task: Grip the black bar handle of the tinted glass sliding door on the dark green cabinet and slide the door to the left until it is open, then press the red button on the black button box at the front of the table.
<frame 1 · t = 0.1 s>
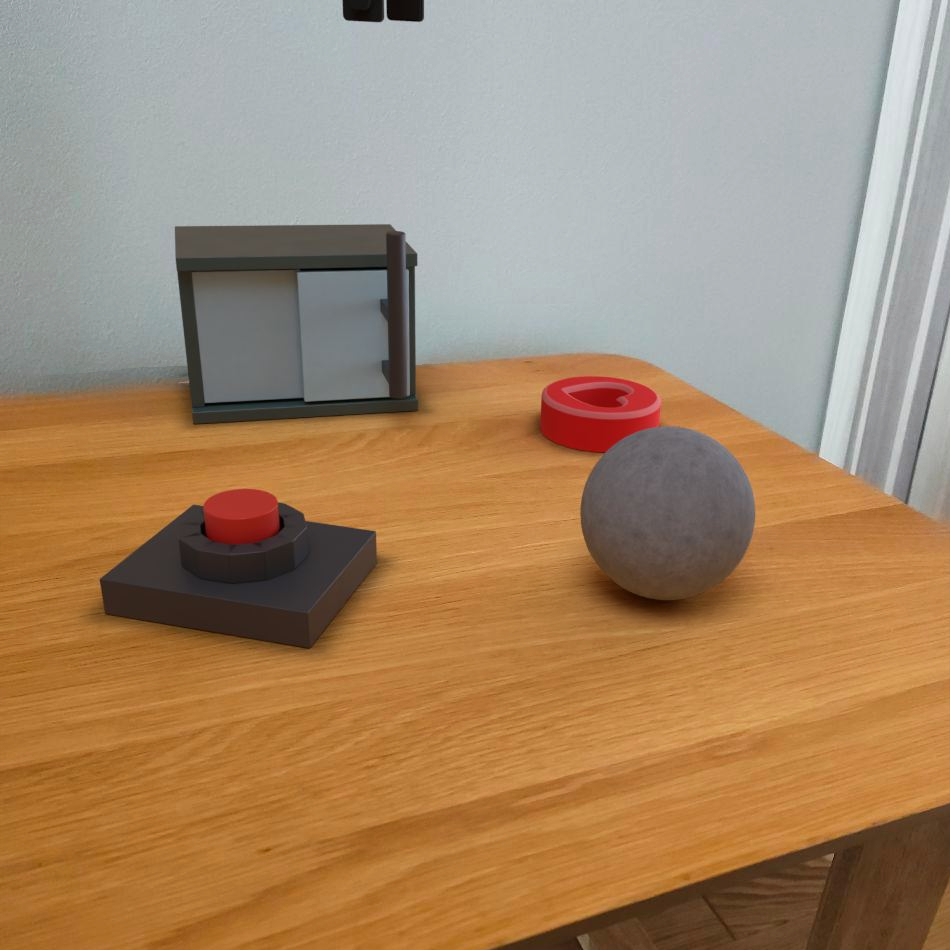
hand: (385, 21, 87), 29 cm above the table, tool pointing down, fingers open, 9 cm apart
cabinet: (301, 393, 91), on the table
button box: (248, 587, 61), on the table
decorative ball: (658, 591, 63), on the table
glass door: (359, 321, 81), point 8 cm above the table, slide at 0.0 cm
button: (242, 517, 59), point 4 cm above the table, slide at 0.1 cm
decorative ornament: (598, 432, 87), on the table
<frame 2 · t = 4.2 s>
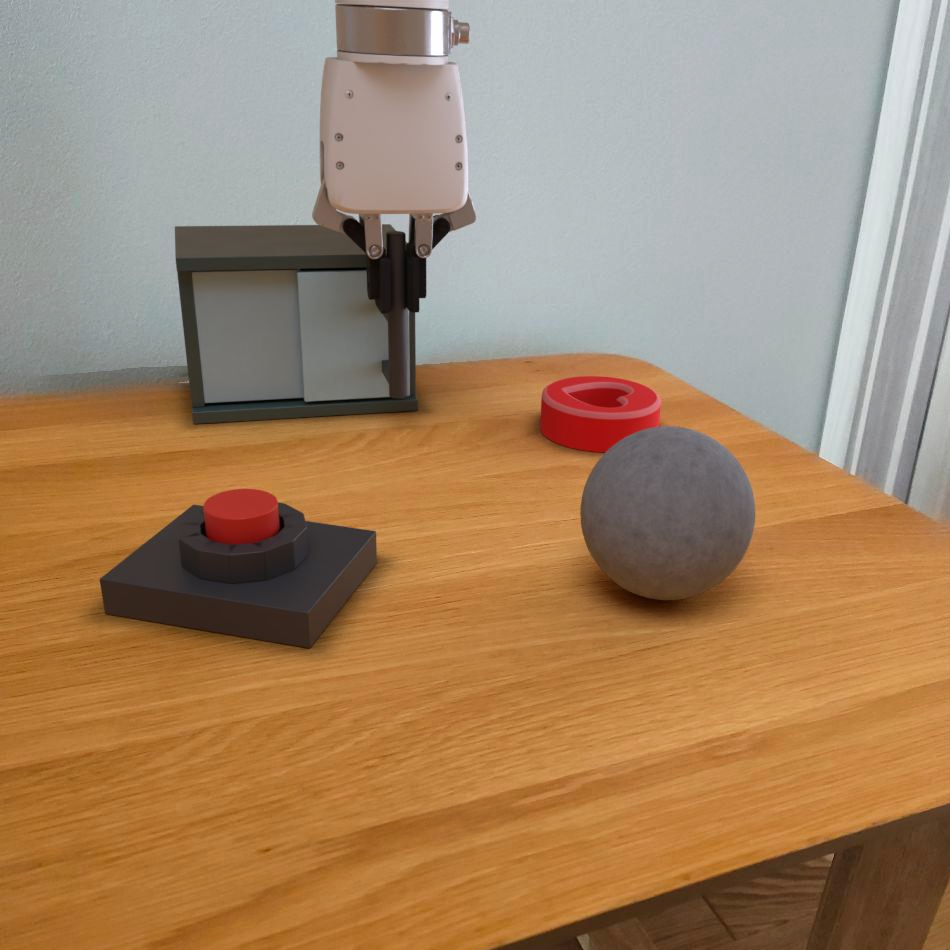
hand: (396, 307, 80), 10 cm above the table, tool pointing down, fingers closed
glass door: (359, 321, 81), point 8 cm above the table, slide at 0.0 cm, touching gripper
everything else where it was.
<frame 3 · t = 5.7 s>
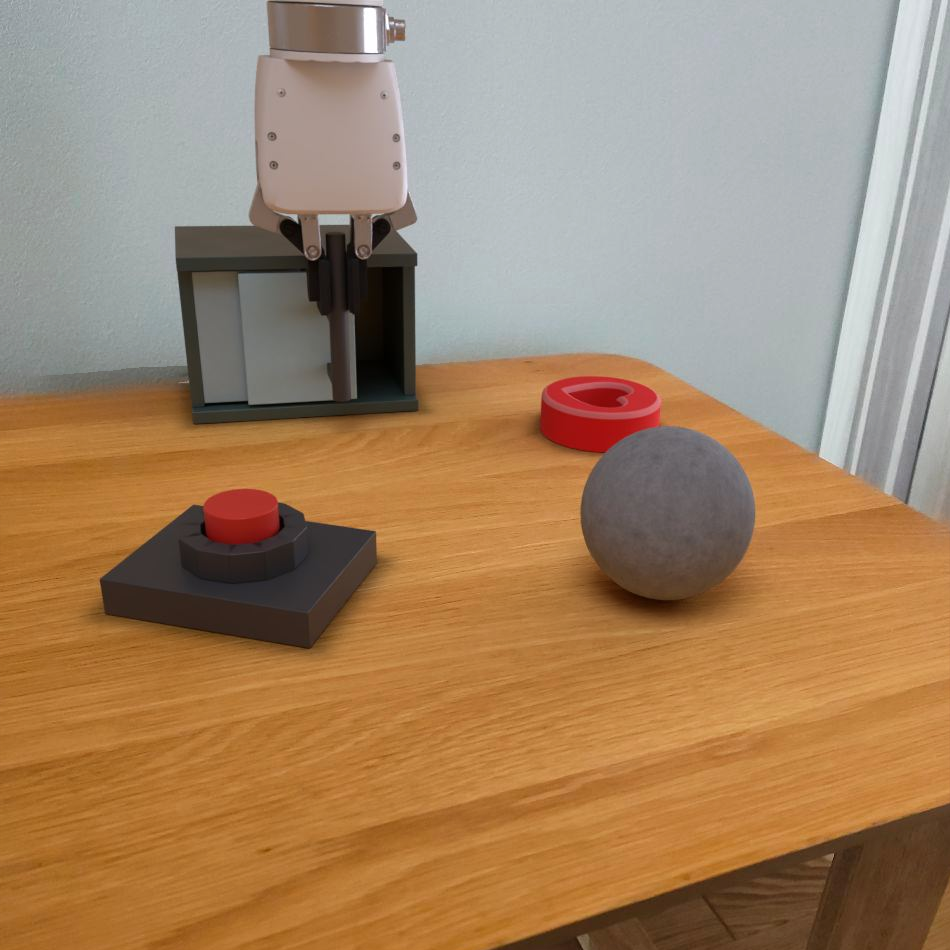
hand: (338, 308, 78), 10 cm above the table, tool pointing down, fingers closed
glass door: (301, 323, 80), point 8 cm above the table, slide at 4.4 cm, touching gripper
everything else where it was.
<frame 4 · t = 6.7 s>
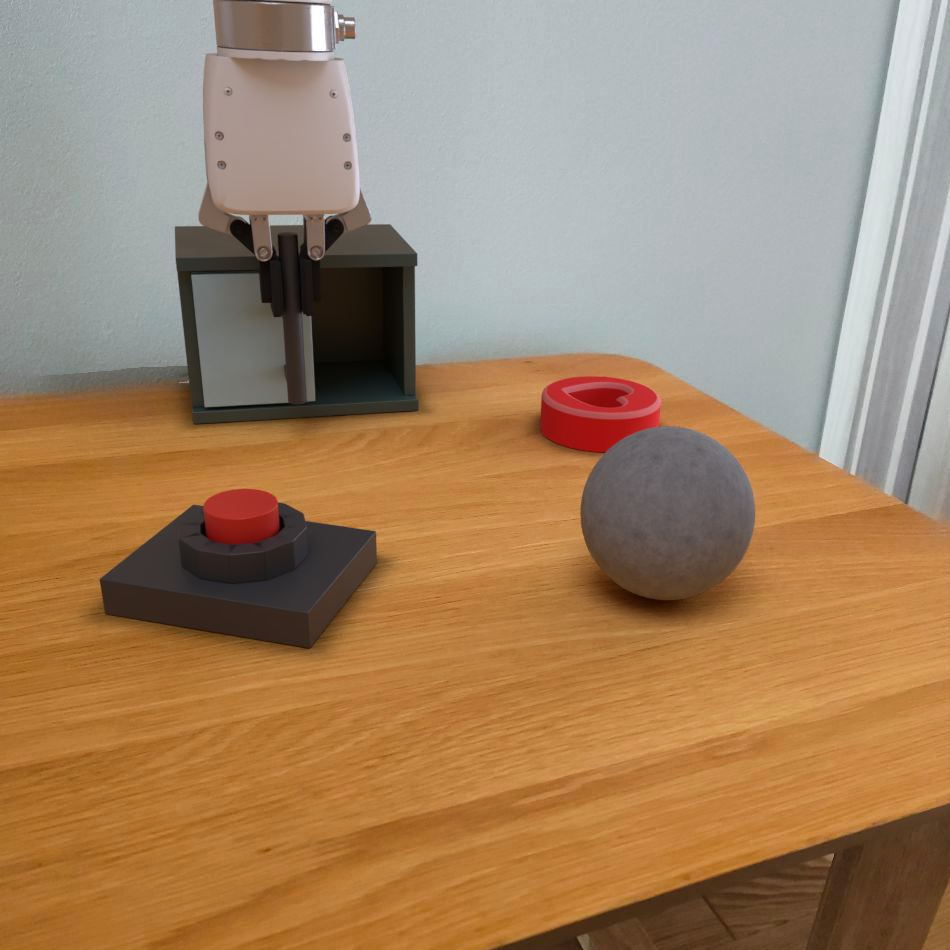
hand: (292, 310, 77), 10 cm above the table, tool pointing down, fingers closed
glass door: (256, 325, 79), point 8 cm above the table, slide at 7.7 cm, touching gripper
everything else where it was.
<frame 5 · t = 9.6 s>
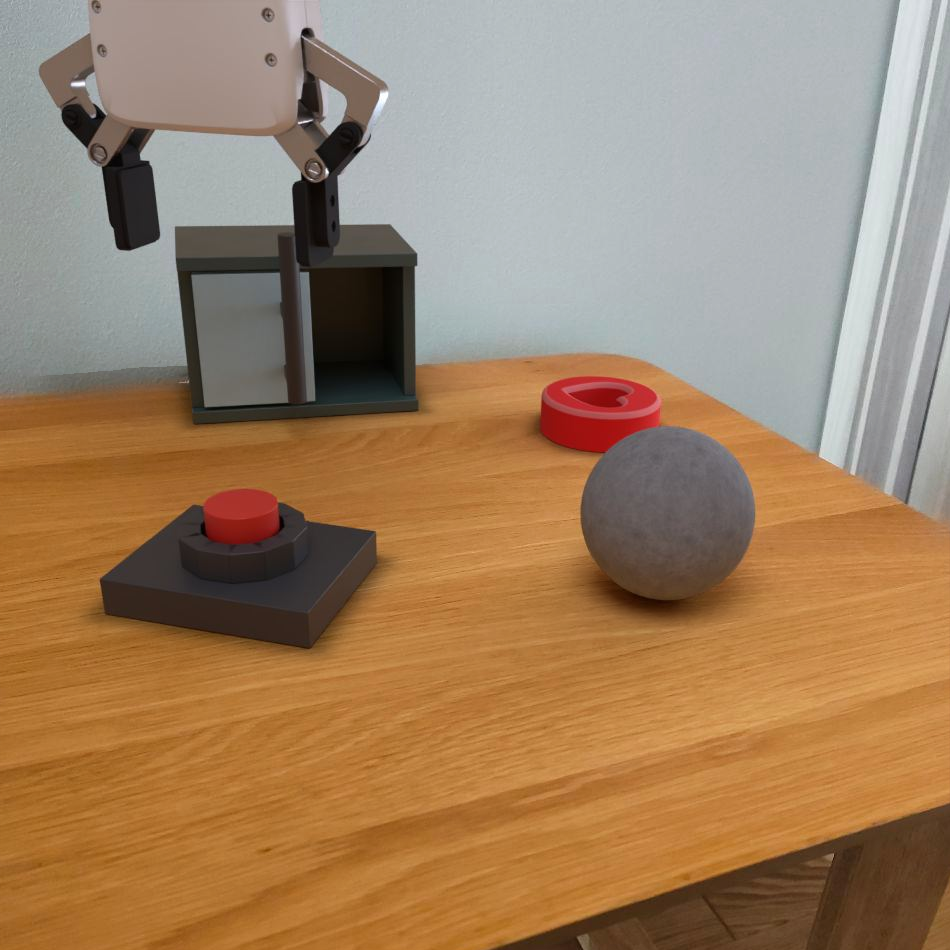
hand: (226, 253, 54), 19 cm above the table, tool pointing down, fingers open, 9 cm apart
glass door: (256, 325, 79), point 8 cm above the table, slide at 7.7 cm
everything else where it was.
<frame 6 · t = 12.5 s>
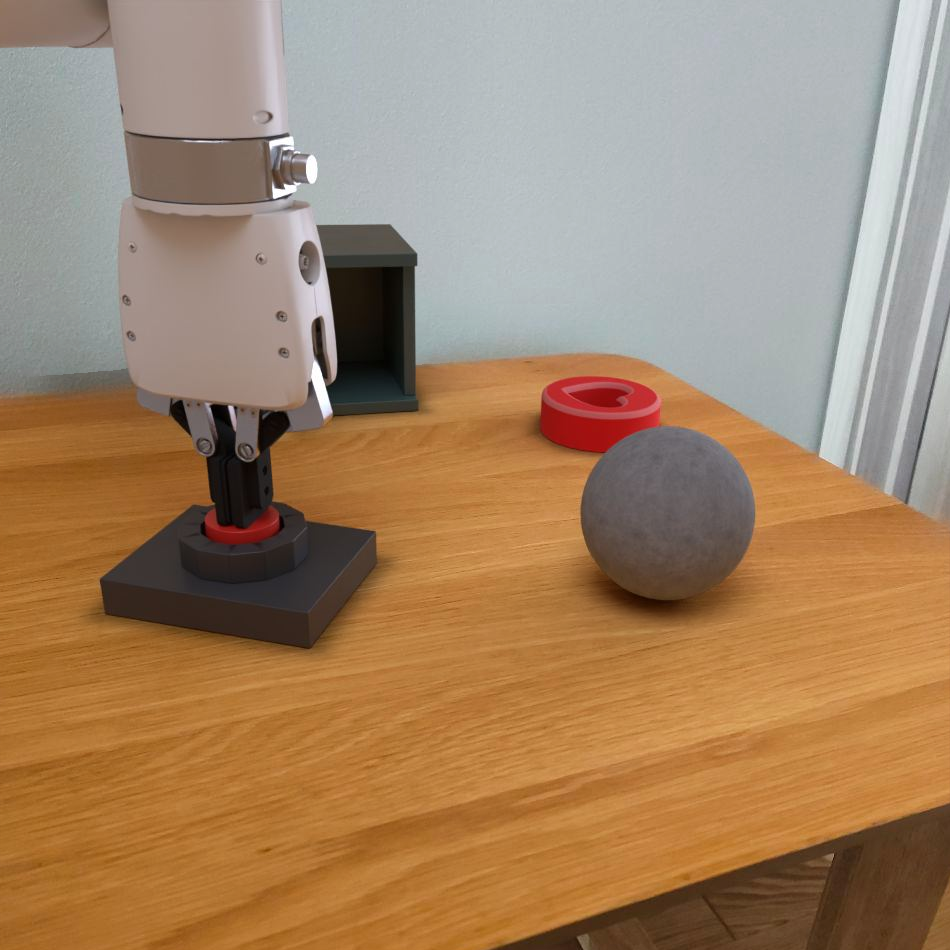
hand: (244, 516, 59), 5 cm above the table, tool pointing down, fingers closed
button: (243, 530, 60), point 4 cm above the table, slide at -0.7 cm, touching gripper
everything else where it was.
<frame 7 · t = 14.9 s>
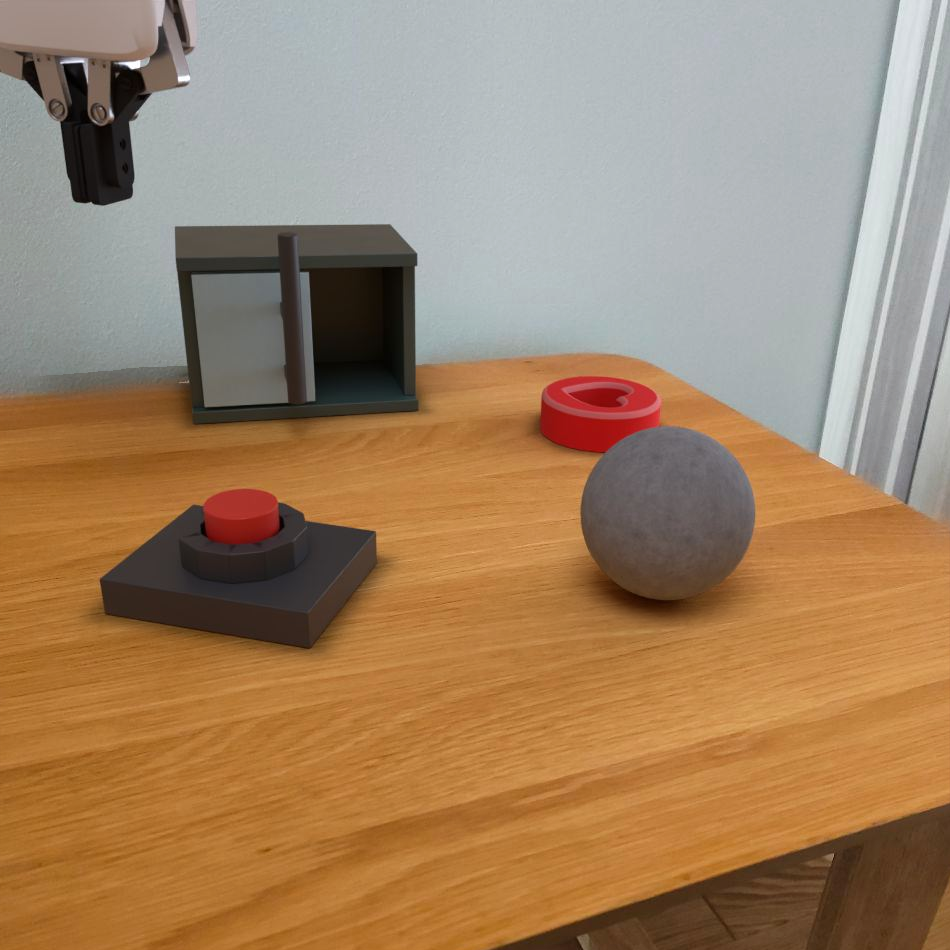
hand: (103, 199, 57), 20 cm above the table, tool pointing down, fingers closed
button: (242, 517, 59), point 4 cm above the table, slide at 0.1 cm
everything else where it was.
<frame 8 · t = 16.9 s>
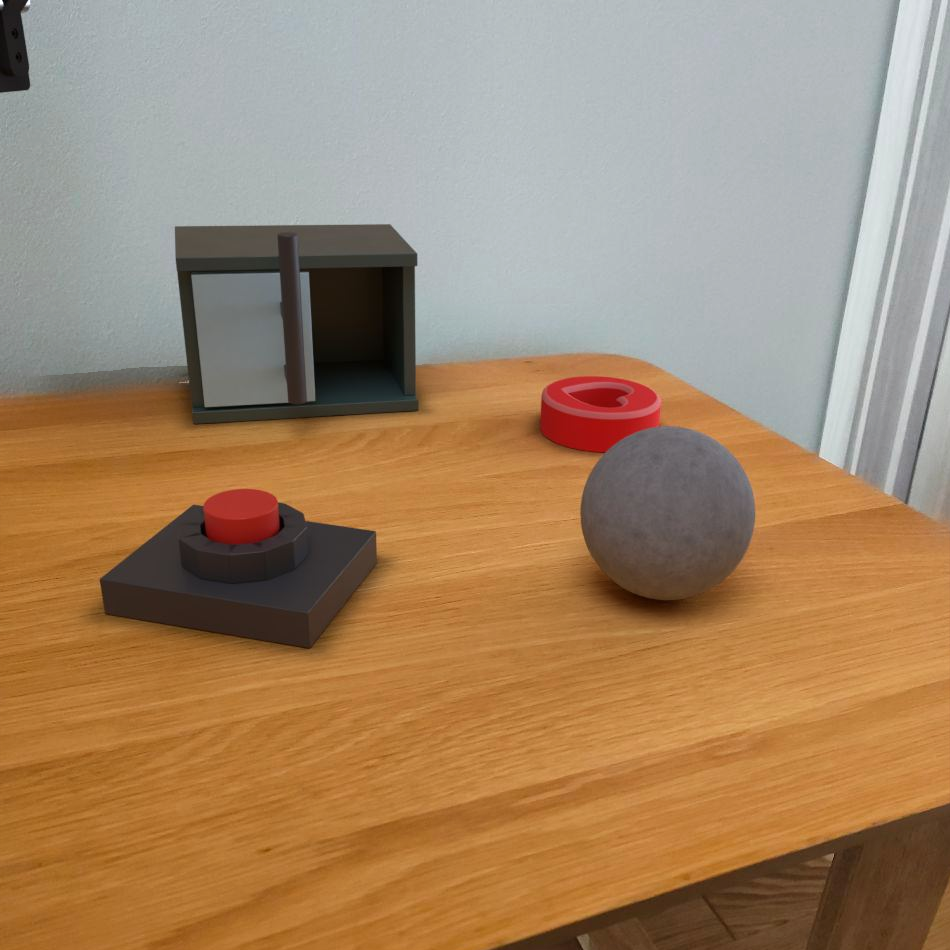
hand: (0, 89, 60), 25 cm above the table, tool pointing down, fingers closed
nothing on the table moved.
at the end: glass door slide at 7.7 cm; button pushed in 1.1 cm at the most during the clip, back to where it started at the end; button slide at 0.1 cm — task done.
